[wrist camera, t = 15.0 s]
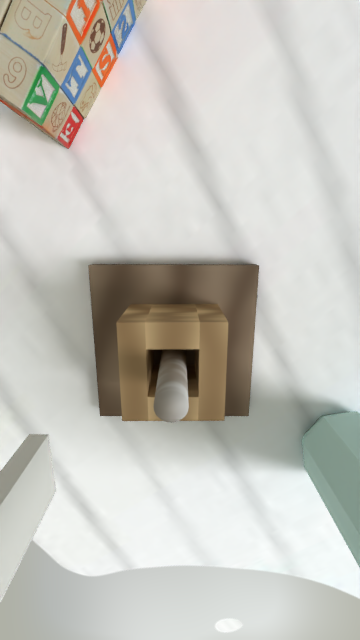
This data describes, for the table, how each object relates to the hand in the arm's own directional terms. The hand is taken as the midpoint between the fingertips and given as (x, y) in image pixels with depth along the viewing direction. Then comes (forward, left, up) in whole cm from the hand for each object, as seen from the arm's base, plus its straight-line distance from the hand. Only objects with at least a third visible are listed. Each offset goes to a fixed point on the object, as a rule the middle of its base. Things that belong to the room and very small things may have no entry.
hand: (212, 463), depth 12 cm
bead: (+2, +2, -20) cm, 20 cm away
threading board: (+2, +2, -22) cm, 22 cm away
